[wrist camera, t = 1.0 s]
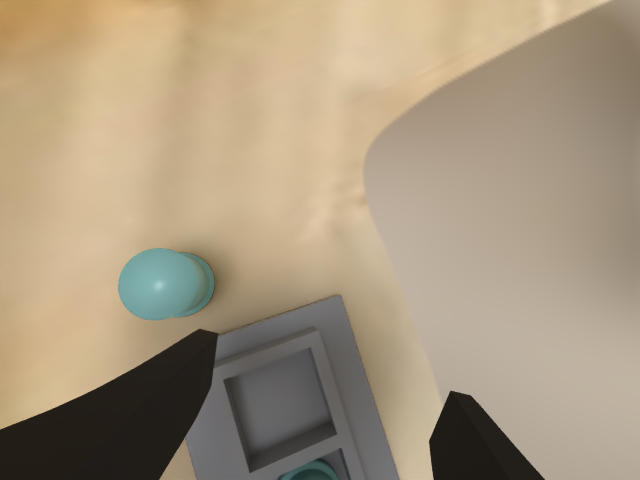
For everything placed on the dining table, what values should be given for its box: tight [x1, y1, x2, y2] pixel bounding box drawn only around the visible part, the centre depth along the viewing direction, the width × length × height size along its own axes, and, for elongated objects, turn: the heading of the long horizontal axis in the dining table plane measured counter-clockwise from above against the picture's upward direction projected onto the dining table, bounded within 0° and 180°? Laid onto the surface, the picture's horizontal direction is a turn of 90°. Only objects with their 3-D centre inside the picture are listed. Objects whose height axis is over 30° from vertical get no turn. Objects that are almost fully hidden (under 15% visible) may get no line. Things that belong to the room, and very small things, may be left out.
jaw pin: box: [118, 248, 215, 320], centre depth 20 cm, size 4×4×6 cm
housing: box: [185, 295, 400, 480], centre depth 21 cm, size 12×16×3 cm
